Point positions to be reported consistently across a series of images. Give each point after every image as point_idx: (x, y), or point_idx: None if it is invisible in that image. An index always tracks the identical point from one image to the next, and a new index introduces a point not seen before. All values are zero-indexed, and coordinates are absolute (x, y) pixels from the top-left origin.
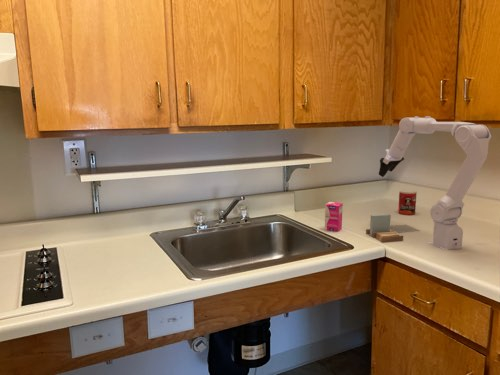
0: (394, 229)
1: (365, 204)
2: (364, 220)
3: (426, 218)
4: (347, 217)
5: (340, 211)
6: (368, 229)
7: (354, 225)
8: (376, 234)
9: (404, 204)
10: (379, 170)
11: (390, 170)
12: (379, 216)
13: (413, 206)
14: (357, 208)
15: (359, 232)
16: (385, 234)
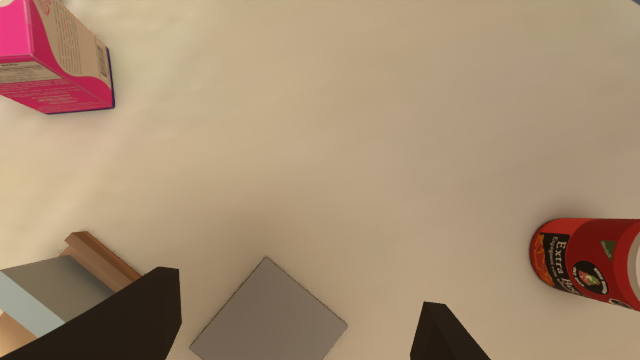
0: (232, 313)
1: (610, 48)
2: (336, 138)
3: (523, 355)
4: (344, 57)
5: (7, 77)
6: (74, 243)
7: (224, 130)
8: None
9: (568, 258)
10: (108, 298)
11: (416, 351)
12: (19, 318)
13: (582, 295)
14: (522, 41)
15: (118, 190)
16: (11, 350)
